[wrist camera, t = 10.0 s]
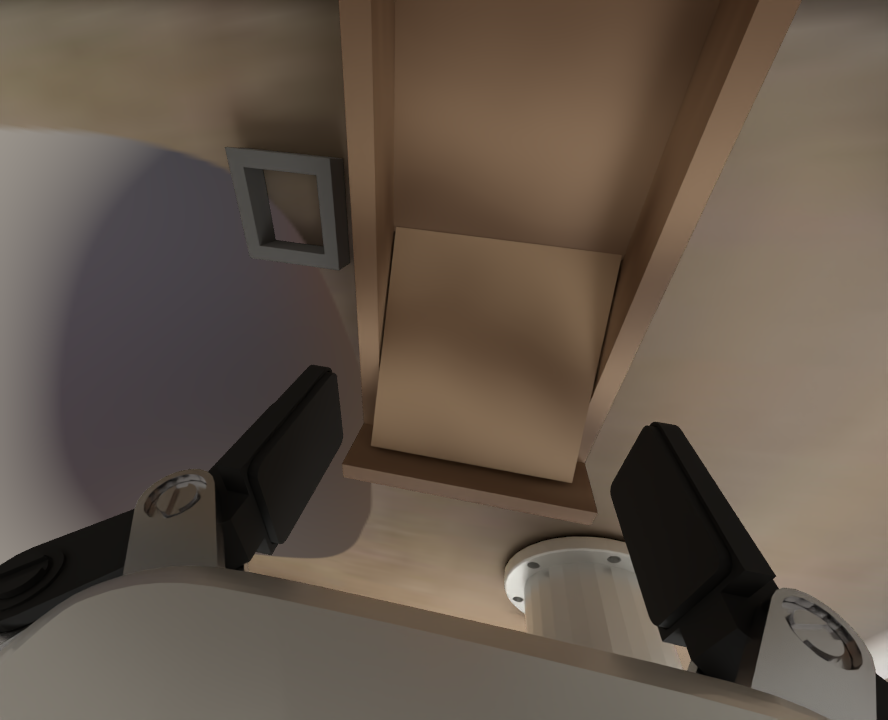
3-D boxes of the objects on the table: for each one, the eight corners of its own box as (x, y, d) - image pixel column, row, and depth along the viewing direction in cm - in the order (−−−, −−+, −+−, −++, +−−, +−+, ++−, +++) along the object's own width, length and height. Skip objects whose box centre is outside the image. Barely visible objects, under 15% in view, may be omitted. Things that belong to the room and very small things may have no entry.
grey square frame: (350, 262, 15) (338, 270, 14) (266, 251, 16) (250, 257, 15) (343, 158, 13) (329, 158, 12) (245, 147, 14) (224, 147, 13)
